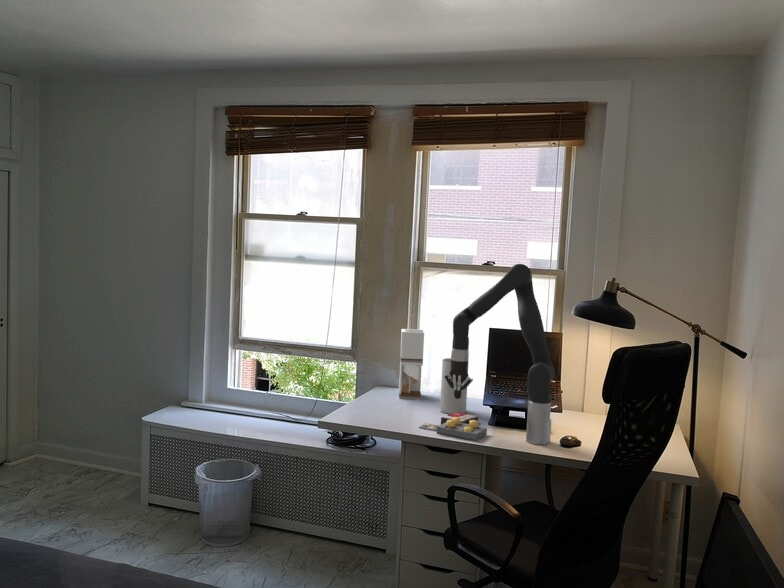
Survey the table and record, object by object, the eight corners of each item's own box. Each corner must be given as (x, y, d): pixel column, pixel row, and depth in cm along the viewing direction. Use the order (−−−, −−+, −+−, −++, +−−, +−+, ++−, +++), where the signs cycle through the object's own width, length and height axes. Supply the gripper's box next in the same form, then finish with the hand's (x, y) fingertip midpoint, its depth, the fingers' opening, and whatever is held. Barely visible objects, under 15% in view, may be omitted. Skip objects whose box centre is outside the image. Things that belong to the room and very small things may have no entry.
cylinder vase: (470, 414, 312) (473, 362, 310) (447, 415, 307) (449, 363, 305) (458, 407, 324) (460, 357, 322) (435, 408, 319) (438, 358, 317)
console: (486, 434, 279) (487, 427, 279) (475, 441, 269) (476, 434, 268) (448, 427, 288) (449, 420, 288) (436, 433, 278) (436, 426, 277)
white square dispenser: (399, 398, 337) (402, 331, 334) (398, 393, 347) (401, 328, 345) (421, 399, 337) (424, 332, 334) (420, 394, 348) (423, 329, 345)
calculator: (478, 415, 297) (462, 420, 285) (477, 424, 297) (461, 430, 285) (457, 411, 304) (440, 415, 291) (457, 420, 304) (440, 425, 292)
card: (442, 427, 287) (442, 425, 287) (435, 431, 281) (435, 429, 281) (426, 424, 291) (426, 422, 291) (418, 427, 285) (418, 426, 285)
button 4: (478, 427, 279) (479, 421, 279) (475, 429, 276) (475, 422, 276) (471, 426, 281) (471, 419, 281) (467, 428, 278) (468, 421, 278)
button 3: (473, 434, 275) (473, 427, 274) (470, 436, 271) (470, 429, 271) (465, 433, 276) (466, 426, 276) (462, 435, 273) (462, 428, 273)
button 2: (461, 424, 283) (462, 417, 283) (458, 426, 280) (458, 419, 280) (454, 423, 285) (454, 416, 285) (450, 424, 282) (451, 418, 282)
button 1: (456, 427, 278) (456, 420, 278) (452, 429, 275) (453, 422, 275) (448, 426, 280) (449, 419, 280) (445, 427, 277) (445, 420, 277)
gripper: (477, 359, 280) (475, 399, 282) (449, 355, 287) (447, 394, 288) (470, 362, 274) (468, 402, 275) (442, 358, 280) (439, 397, 282)
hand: (457, 398), depth 282 cm, fingers closed
